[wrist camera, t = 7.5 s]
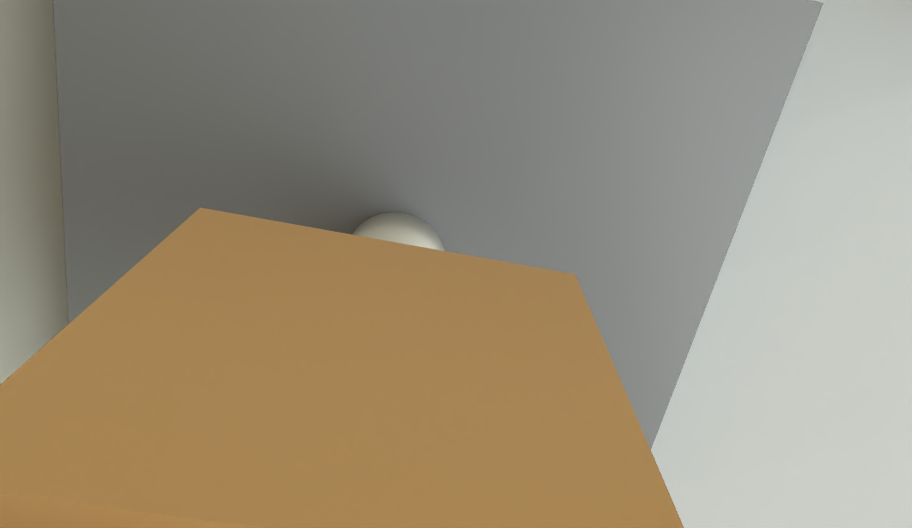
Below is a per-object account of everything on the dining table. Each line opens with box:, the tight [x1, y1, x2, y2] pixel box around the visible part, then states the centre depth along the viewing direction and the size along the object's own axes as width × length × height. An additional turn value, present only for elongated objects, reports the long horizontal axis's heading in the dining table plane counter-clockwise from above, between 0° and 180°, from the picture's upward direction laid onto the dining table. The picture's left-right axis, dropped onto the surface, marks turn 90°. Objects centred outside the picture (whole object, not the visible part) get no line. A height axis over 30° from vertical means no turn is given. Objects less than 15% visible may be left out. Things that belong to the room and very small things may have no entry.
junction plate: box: [53, 0, 823, 450], centre depth 15 cm, size 16×17×6 cm
